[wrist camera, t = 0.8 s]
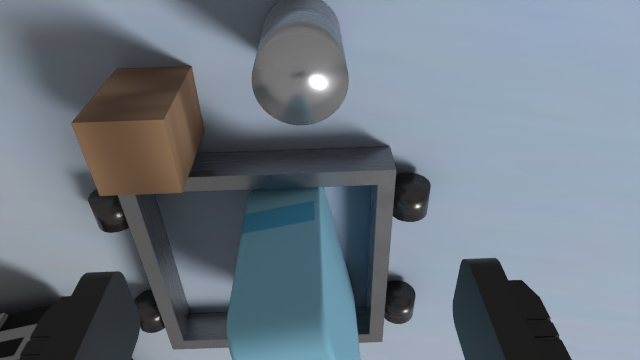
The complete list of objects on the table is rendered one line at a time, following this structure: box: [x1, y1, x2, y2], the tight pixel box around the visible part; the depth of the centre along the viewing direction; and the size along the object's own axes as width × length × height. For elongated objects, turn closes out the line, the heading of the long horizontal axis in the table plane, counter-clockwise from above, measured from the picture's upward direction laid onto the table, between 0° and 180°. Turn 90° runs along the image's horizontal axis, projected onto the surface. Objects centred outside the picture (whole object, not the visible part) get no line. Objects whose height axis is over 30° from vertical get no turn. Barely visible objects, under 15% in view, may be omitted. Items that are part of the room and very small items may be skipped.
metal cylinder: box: [252, 0, 349, 125], centre depth 22 cm, size 4×4×6 cm
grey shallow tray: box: [88, 147, 431, 349], centre depth 32 cm, size 21×16×2 cm
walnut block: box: [71, 66, 204, 196], centre depth 24 cm, size 4×4×6 cm
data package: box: [227, 187, 361, 360], centre depth 28 cm, size 12×4×12 cm, turn 13°
